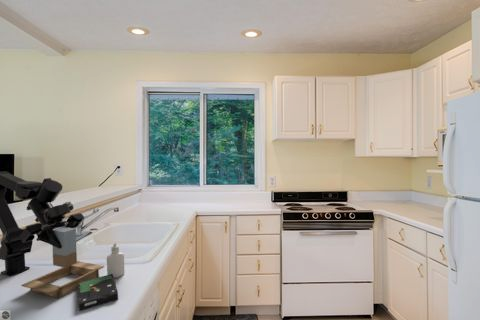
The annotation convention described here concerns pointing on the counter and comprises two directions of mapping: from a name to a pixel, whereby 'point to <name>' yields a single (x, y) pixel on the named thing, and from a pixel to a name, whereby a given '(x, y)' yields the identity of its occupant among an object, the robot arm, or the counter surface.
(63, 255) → the box
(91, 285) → the disk drive
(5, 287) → the counter surface
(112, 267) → the eye dropper bottle
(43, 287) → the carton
